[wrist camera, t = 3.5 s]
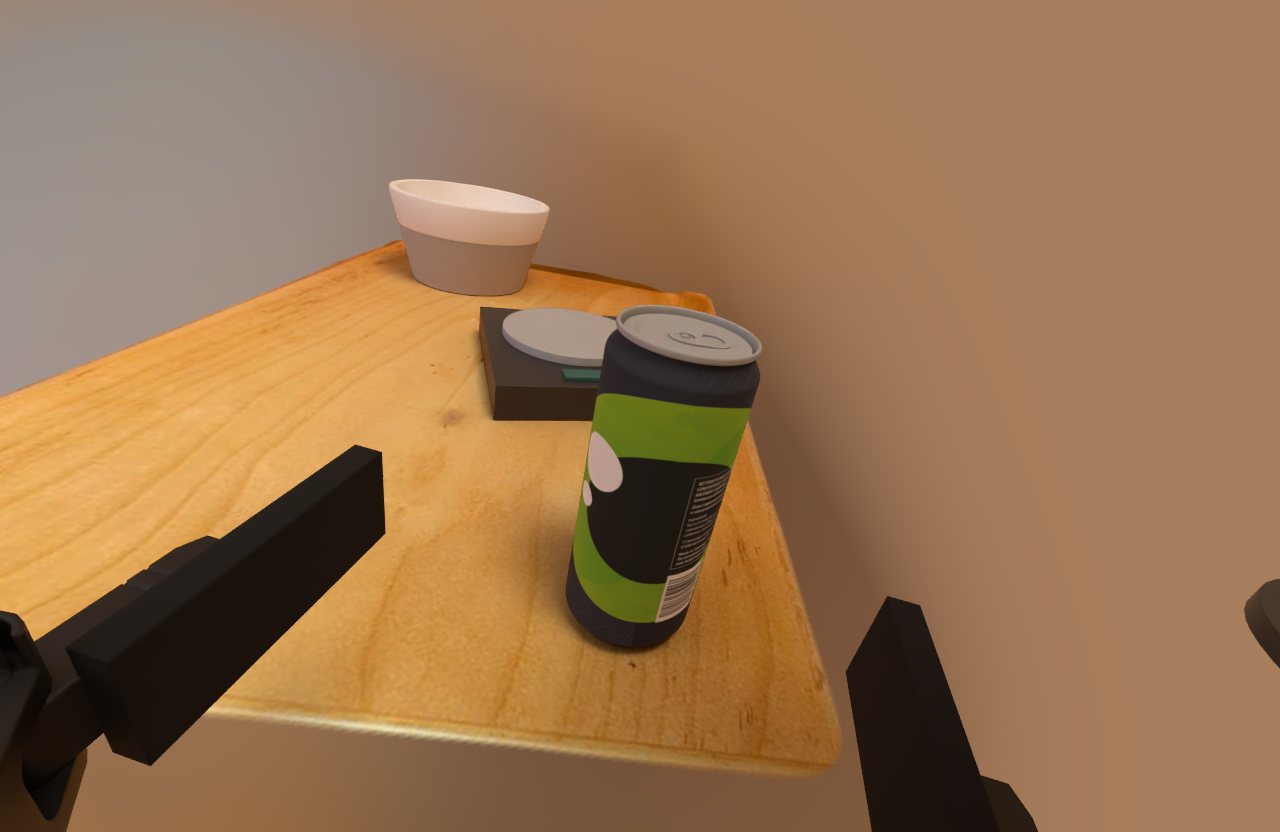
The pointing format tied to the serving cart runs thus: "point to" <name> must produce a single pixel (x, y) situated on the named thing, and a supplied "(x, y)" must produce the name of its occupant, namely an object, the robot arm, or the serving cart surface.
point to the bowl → (468, 235)
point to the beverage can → (657, 468)
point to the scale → (543, 361)
